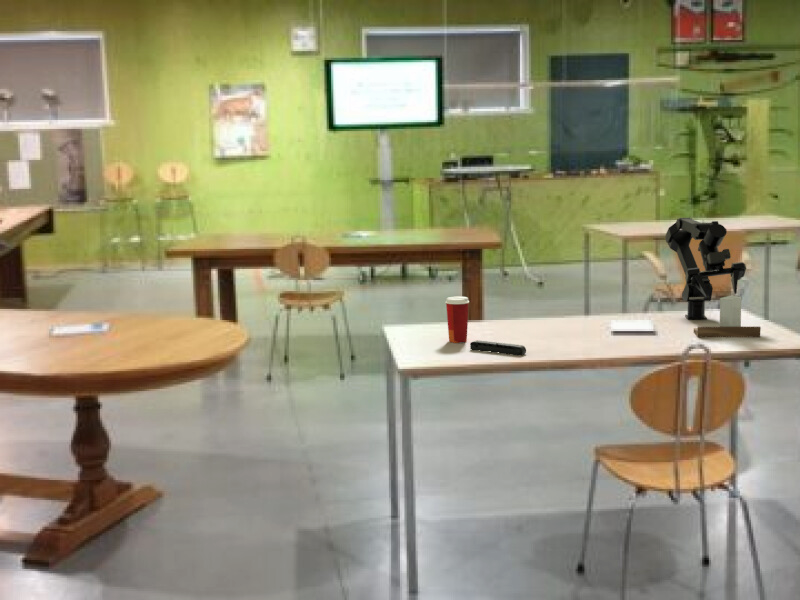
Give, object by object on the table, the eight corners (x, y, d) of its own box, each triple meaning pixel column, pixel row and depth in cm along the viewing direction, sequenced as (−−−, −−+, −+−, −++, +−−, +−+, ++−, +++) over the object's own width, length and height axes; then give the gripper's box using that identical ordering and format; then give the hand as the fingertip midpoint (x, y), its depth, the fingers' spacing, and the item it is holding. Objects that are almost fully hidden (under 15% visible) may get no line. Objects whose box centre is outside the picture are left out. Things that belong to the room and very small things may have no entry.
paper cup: (473, 339, 321) (473, 296, 318) (463, 344, 314) (463, 300, 312) (451, 338, 324) (451, 295, 322) (441, 342, 318) (440, 299, 316)
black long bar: (526, 355, 299) (526, 345, 298) (522, 356, 296) (522, 347, 296) (473, 349, 308) (473, 339, 308) (469, 351, 306) (469, 341, 306)
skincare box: (728, 332, 323) (729, 295, 321) (740, 333, 320) (742, 296, 318) (718, 334, 319) (719, 297, 317) (730, 336, 316) (731, 299, 314)
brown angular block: (693, 332, 324) (693, 322, 323) (754, 332, 322) (754, 322, 321) (697, 337, 316) (698, 327, 315) (760, 337, 314) (760, 327, 313)
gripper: (684, 245, 326) (695, 285, 318) (742, 237, 325) (754, 278, 316) (681, 263, 336) (691, 303, 327) (737, 256, 334) (749, 296, 326)
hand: (721, 295), depth 324 cm, fingers open, 9 cm apart
